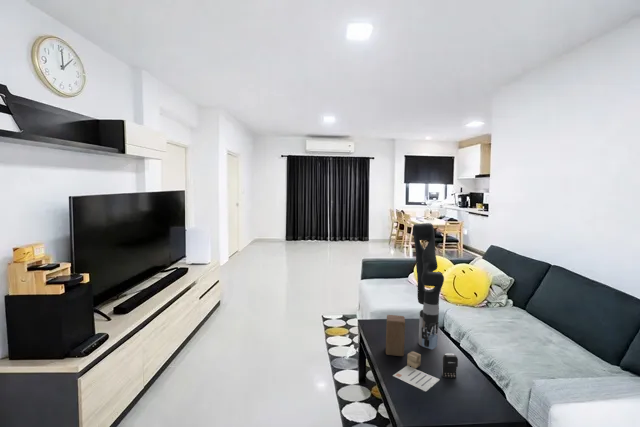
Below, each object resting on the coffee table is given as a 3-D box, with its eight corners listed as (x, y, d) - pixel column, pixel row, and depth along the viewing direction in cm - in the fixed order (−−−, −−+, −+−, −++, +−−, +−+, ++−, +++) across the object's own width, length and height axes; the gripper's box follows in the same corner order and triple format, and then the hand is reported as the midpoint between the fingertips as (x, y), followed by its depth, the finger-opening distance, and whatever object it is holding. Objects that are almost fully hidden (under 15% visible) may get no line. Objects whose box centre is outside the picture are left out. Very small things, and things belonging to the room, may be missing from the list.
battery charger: (443, 379, 170) (444, 356, 169) (441, 374, 174) (442, 353, 173) (458, 379, 170) (459, 357, 168) (455, 375, 173) (456, 353, 172)
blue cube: (426, 342, 176) (427, 332, 175) (437, 346, 172) (437, 335, 172) (421, 345, 172) (422, 335, 171) (432, 349, 168) (432, 338, 168)
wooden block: (403, 357, 191) (405, 322, 189) (385, 355, 192) (386, 320, 191) (403, 348, 200) (404, 315, 199) (385, 347, 202) (386, 313, 201)
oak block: (412, 361, 186) (412, 351, 185) (420, 365, 182) (420, 354, 182) (407, 365, 182) (407, 354, 182) (415, 368, 179) (416, 357, 178)
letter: (407, 365, 182) (407, 365, 182) (439, 379, 169) (439, 379, 169) (392, 375, 172) (392, 375, 172) (425, 391, 159) (425, 391, 159)
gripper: (430, 306, 178) (428, 337, 180) (416, 313, 168) (415, 346, 169) (444, 310, 173) (442, 342, 174) (431, 317, 163) (429, 351, 164)
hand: (429, 344), depth 172 cm, fingers closed on blue cube, 5 cm apart
